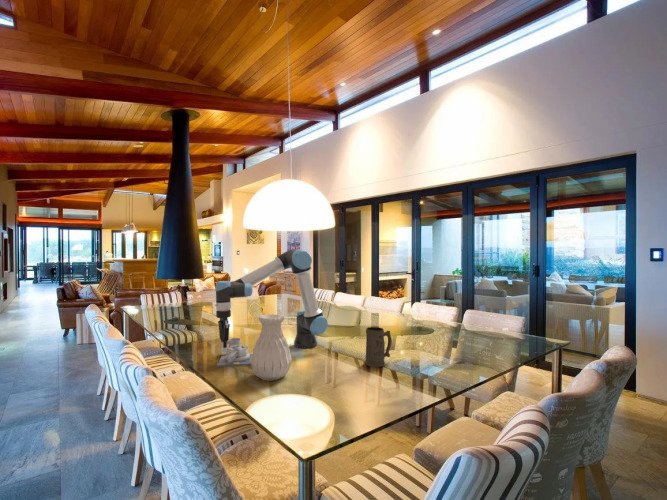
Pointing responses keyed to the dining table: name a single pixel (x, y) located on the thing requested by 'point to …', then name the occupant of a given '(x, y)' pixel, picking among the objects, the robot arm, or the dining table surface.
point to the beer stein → (376, 346)
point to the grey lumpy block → (236, 352)
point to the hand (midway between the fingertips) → (224, 353)
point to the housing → (237, 362)
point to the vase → (271, 350)
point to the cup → (234, 342)
